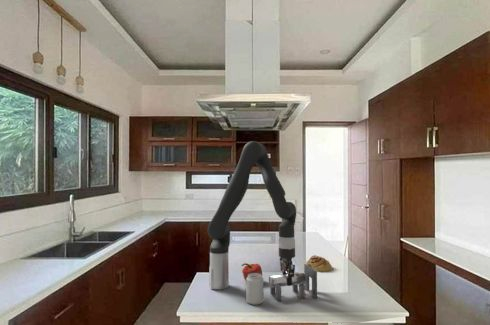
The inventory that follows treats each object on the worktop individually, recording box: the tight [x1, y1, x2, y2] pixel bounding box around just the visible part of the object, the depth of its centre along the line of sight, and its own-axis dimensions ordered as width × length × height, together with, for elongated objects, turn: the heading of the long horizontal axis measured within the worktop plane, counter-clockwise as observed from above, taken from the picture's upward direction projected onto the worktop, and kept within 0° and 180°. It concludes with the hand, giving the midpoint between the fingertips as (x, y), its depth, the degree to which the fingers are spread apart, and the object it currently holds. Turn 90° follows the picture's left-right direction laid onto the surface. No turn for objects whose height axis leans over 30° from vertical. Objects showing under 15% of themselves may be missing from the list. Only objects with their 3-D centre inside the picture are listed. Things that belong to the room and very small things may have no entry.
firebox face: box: [303, 263, 318, 300], centre depth 163 cm, size 1×12×12 cm, turn 13°
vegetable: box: [241, 262, 263, 282], centre depth 179 cm, size 11×10×10 cm
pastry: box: [305, 254, 334, 273], centre depth 202 cm, size 13×15×8 cm
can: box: [245, 273, 264, 306], centre depth 154 cm, size 8×8×12 cm
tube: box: [268, 272, 306, 288], centre depth 160 cm, size 16×5×5 cm, turn 103°
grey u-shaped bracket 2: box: [292, 284, 306, 300], centre depth 162 cm, size 2×10×6 cm, turn 13°
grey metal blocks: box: [269, 286, 282, 302], centre depth 159 cm, size 2×10×6 cm, turn 13°
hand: (287, 283), depth 160 cm, fingers closed on tube, 5 cm apart
